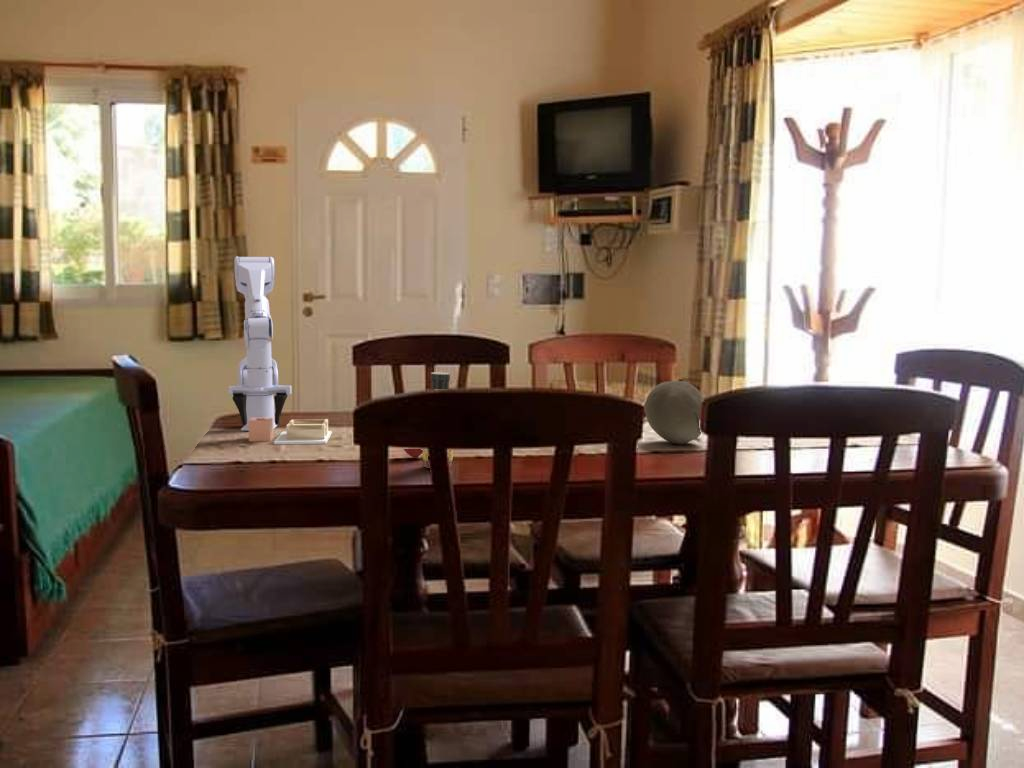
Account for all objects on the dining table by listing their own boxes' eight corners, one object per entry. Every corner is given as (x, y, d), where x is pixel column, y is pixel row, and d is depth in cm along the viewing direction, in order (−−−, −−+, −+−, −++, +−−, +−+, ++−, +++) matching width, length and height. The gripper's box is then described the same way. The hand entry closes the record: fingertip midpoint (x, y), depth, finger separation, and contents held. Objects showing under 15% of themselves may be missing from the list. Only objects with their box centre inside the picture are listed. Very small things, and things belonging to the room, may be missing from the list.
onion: (426, 461, 206) (426, 424, 205) (399, 460, 206) (399, 424, 205) (429, 455, 211) (429, 420, 210) (403, 455, 212) (403, 419, 211)
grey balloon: (699, 438, 234) (701, 377, 232) (710, 449, 220) (712, 385, 218) (641, 438, 234) (642, 377, 232) (648, 449, 220) (649, 384, 218)
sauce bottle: (423, 471, 196) (422, 374, 193) (421, 465, 202) (420, 371, 199) (455, 470, 197) (455, 374, 194) (452, 464, 203) (452, 370, 200)
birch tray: (291, 433, 235) (291, 419, 235) (328, 432, 236) (328, 419, 235) (286, 439, 226) (286, 425, 226) (324, 439, 227) (324, 425, 227)
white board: (282, 433, 237) (282, 431, 237) (331, 433, 238) (331, 430, 238) (273, 444, 224) (273, 441, 223) (325, 443, 225) (325, 441, 224)
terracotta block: (252, 437, 232) (252, 416, 232) (273, 437, 233) (273, 416, 232) (249, 441, 227) (248, 420, 227) (270, 441, 228) (269, 419, 227)
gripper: (224, 369, 223) (226, 427, 225) (288, 369, 225) (289, 426, 226) (230, 366, 230) (232, 422, 232) (292, 366, 232) (293, 421, 233)
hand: (261, 424), depth 230 cm, fingers open, 7 cm apart
